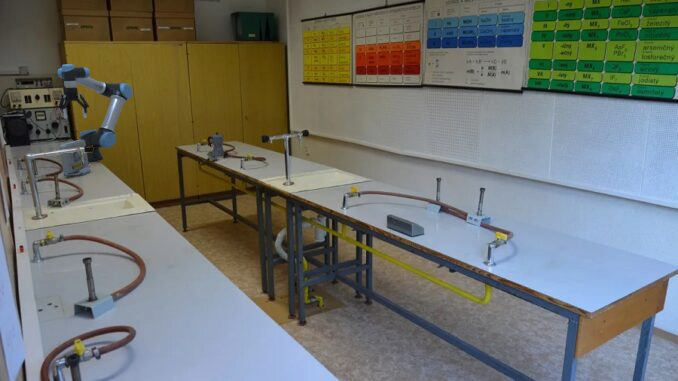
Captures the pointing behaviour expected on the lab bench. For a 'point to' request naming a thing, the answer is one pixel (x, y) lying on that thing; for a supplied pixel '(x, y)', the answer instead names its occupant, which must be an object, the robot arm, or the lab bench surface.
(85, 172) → the bracket
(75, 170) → the network device
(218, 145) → the coffeepot
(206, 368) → the lab bench surface
